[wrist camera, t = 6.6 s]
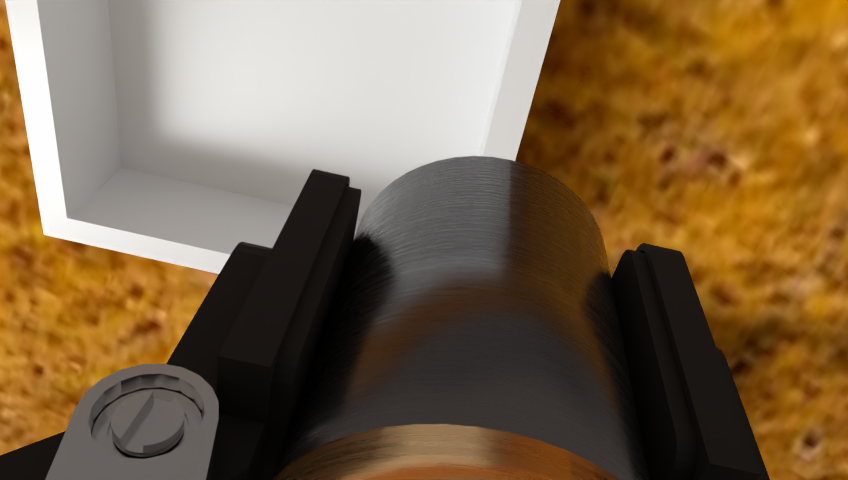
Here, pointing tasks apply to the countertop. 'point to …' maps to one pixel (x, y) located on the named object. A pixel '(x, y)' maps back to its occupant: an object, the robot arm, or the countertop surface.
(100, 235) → the bin
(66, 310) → the countertop surface
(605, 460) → the battery cell
